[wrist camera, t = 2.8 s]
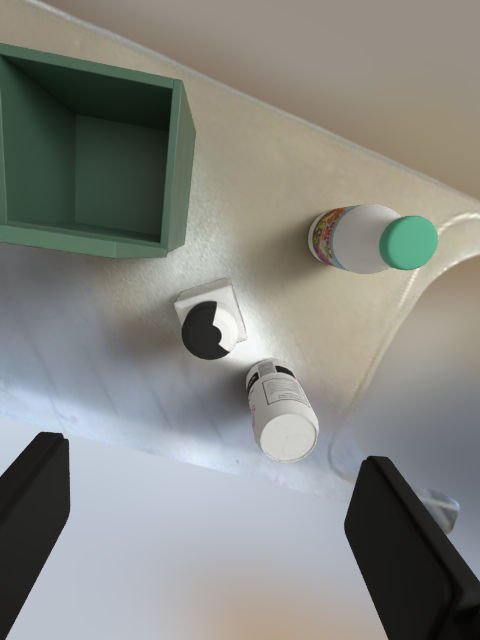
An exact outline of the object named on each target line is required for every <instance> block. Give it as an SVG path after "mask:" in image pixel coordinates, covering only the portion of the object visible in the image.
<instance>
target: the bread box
mask: <svg viewBox="0 0 480 640" xmlns="http://www.w3.org/2000/svg"><path fill="white" fill-rule="evenodd" d="M195 137H196V130H195V126H194V123H193V119H192V115H191V111H190V108H189V104H188V100H187V96H186V92H185V89H184V85H183V81H182V80H178V79H173V78H169V77H164V76H159V75H154V74H149V73H145V72H140V71H135V70H130V69H125V68H120V67H115V66H110V65H106V64H101V63H96V62H91V61H86V60H81V59H76V58H71V57H67V56H62V55H57V54H52V53H47V52H42V51H37V50H32V49H28V48H23V47H18V46H13V45H8V44H3V43H0V224H5V225H11V226H18V227H25V228H31V229H38V230H45V231H51V232H58V233H64V234H71V235H78V236H84V237H91V238H98V239H104V240H111V241H117V242H124V243H131V244H137V245H144V246H151V247H157V248H164V249H167V252H169V251H172V250H174V249H176V248H178V247H180V246H182V245H184V244H185V235H186V225H187V216H188V206H189V196H190V186H191V176H192V166H193V157H194V147H195Z"/></svg>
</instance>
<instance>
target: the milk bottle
mask: <svg viewBox="0 0 480 640" xmlns="http://www.w3.org/2000/svg"><path fill="white" fill-rule="evenodd" d="M437 243H438V235H437V231H436V228H435V226H434V225H433V224H432V223H431V222H430V221H429V220H428V219H426V218H424V217H420V216H400V215H399V214H398V213H396V212H395V211H394V210H392V209H390V208H388V207H385V206H381V205H374V204H368V205H357V206H350V207H344V208H338V209H333V210H329V211H326V212H324V213H322V214H321V215H320V216H318V217H317V218H316V219H315V221H314V222H313V224H312V225H311V227H310V230H309V234H308V244H309V248H310V250H311V252H312V254H313V255H314V256H315V257H316V258H317V259H318V260H319V261H321V262H323V263H326V264H328V265H331V266H334V267H337V268H340V269H344V270H347V271H350V272H354V273H359V274H372V273H377V272H381V271H383V270H386V269H388V268H389V267H391V268H396V269H399V270H413V269H416V268H419V267H421V266H423V265H424V264H426V263H427V262H428V261H429V260H430V259H431V257H432V256H433V254H434V252H435V250H436V248H437Z"/></svg>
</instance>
